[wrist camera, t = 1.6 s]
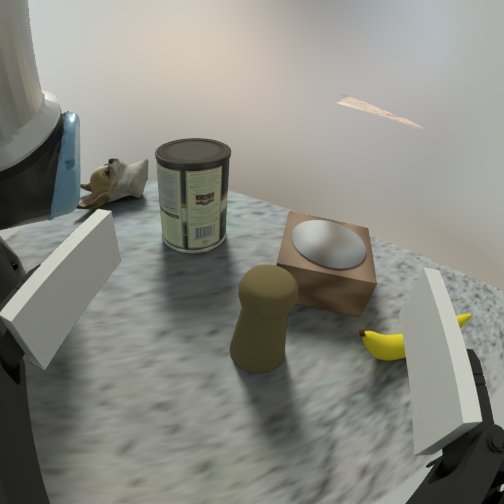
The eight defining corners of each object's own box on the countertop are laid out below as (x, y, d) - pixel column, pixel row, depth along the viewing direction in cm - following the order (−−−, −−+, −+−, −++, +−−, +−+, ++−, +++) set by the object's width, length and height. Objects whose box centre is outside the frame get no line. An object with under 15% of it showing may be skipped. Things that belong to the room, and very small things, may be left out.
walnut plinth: (270, 298, 39) (277, 260, 35) (283, 243, 48) (289, 209, 44) (360, 316, 37) (377, 281, 33) (356, 259, 47) (368, 226, 43)
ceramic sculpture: (149, 161, 48) (66, 180, 43) (155, 204, 54) (79, 222, 49) (144, 143, 56) (74, 159, 51) (149, 181, 61) (83, 196, 56)
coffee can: (193, 209, 53) (193, 133, 45) (239, 232, 49) (246, 149, 40) (148, 234, 47) (140, 150, 38) (193, 264, 42) (192, 170, 34)
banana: (458, 345, 34) (482, 315, 30) (344, 376, 30) (366, 344, 26) (449, 329, 36) (471, 299, 32) (336, 355, 33) (355, 320, 29)
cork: (287, 372, 30) (312, 304, 24) (229, 373, 30) (235, 304, 23) (281, 328, 35) (300, 255, 28) (229, 327, 34) (234, 253, 28)
